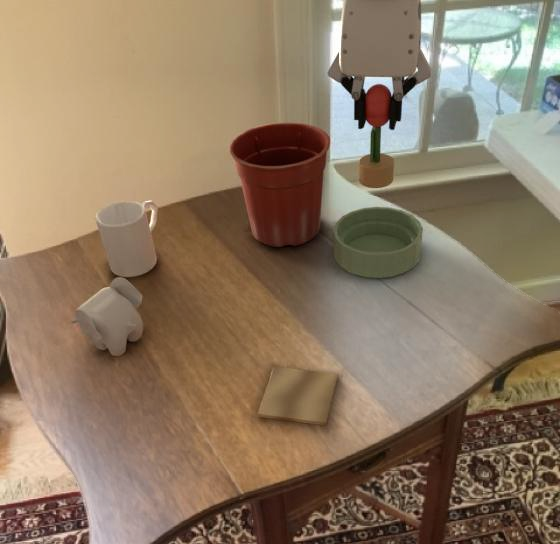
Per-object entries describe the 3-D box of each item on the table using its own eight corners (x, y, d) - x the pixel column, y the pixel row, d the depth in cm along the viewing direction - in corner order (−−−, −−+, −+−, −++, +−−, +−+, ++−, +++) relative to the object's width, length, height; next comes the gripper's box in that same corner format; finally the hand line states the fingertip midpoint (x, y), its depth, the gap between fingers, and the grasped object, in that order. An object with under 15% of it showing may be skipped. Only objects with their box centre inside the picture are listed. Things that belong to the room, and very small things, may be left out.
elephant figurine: (106, 310, 104) (91, 263, 98) (164, 332, 99) (152, 285, 93) (62, 345, 98) (43, 298, 92) (122, 371, 93) (106, 323, 87)
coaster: (337, 376, 90) (337, 373, 89) (326, 425, 83) (325, 422, 83) (274, 369, 92) (273, 366, 91) (257, 416, 85) (257, 413, 85)
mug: (181, 247, 116) (171, 196, 109) (134, 282, 109) (120, 231, 102) (148, 235, 119) (136, 185, 112) (100, 269, 112) (84, 218, 106)
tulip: (395, 172, 98) (399, 78, 89) (390, 189, 95) (395, 92, 86) (361, 171, 100) (362, 77, 90) (356, 187, 96) (357, 91, 87)
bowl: (423, 235, 113) (425, 209, 110) (416, 284, 103) (418, 257, 100) (341, 229, 116) (341, 204, 113) (327, 277, 106) (326, 251, 103)
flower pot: (239, 210, 123) (229, 126, 112) (326, 202, 123) (324, 117, 112) (240, 259, 112) (228, 171, 100) (337, 251, 111) (336, 161, 100)
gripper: (454, -34, 80) (440, 115, 92) (320, -31, 83) (324, 112, 96) (450, -17, 74) (436, 139, 87) (307, -14, 78) (313, 135, 91)
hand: (377, 124), depth 91 cm, fingers closed on tulip, 3 cm apart
